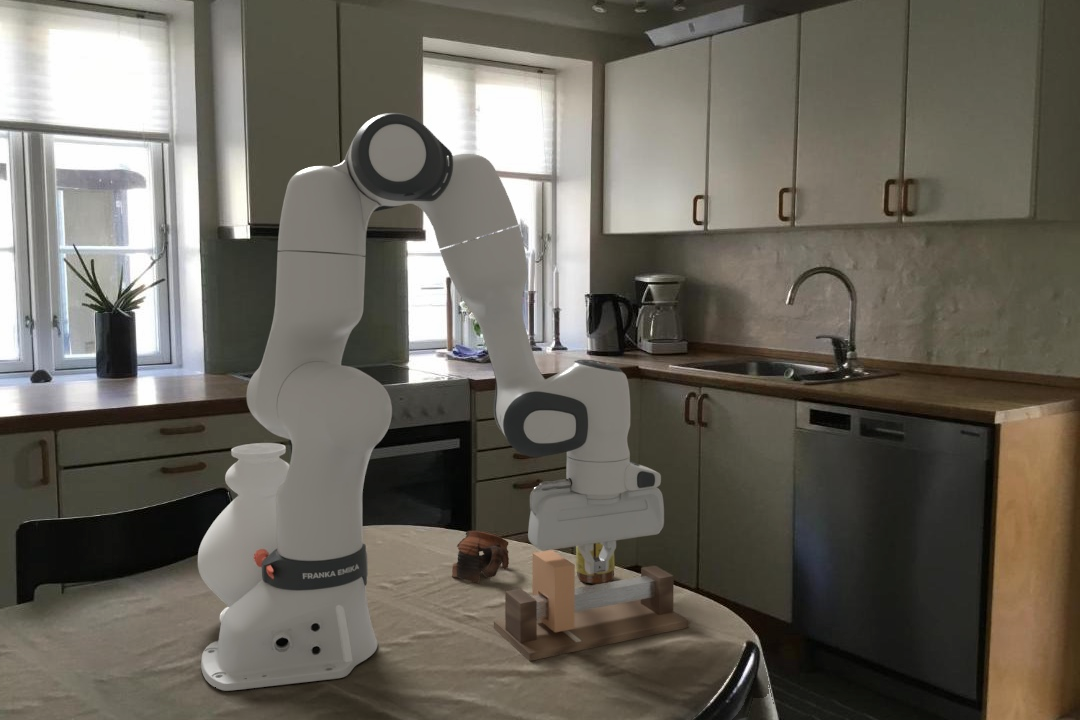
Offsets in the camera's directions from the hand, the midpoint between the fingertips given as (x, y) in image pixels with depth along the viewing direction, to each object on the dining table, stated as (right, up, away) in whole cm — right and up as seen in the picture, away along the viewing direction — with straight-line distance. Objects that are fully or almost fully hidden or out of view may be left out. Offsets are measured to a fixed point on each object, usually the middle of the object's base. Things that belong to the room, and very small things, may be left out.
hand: (596, 571), depth 132 cm
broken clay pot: (-17, -6, +22) cm, 29 cm away
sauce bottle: (+1, -6, +20) cm, 21 cm away
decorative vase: (-48, -8, +5) cm, 49 cm away
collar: (-6, -6, -2) cm, 9 cm away
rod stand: (-1, -8, +1) cm, 8 cm away
